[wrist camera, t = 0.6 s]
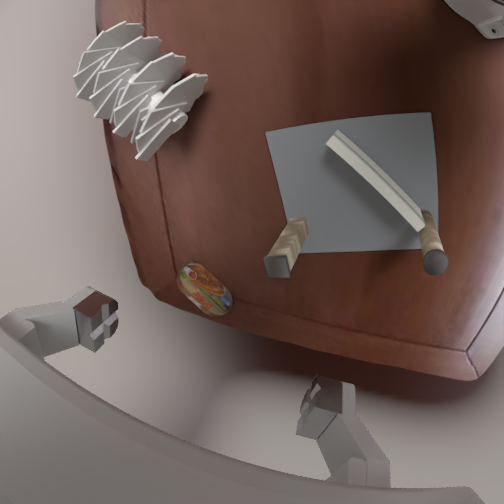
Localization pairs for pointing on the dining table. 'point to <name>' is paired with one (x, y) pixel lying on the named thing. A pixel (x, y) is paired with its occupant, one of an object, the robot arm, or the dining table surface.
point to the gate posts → (297, 231)
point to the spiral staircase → (137, 86)
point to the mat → (356, 181)
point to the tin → (204, 289)
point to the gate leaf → (377, 178)
